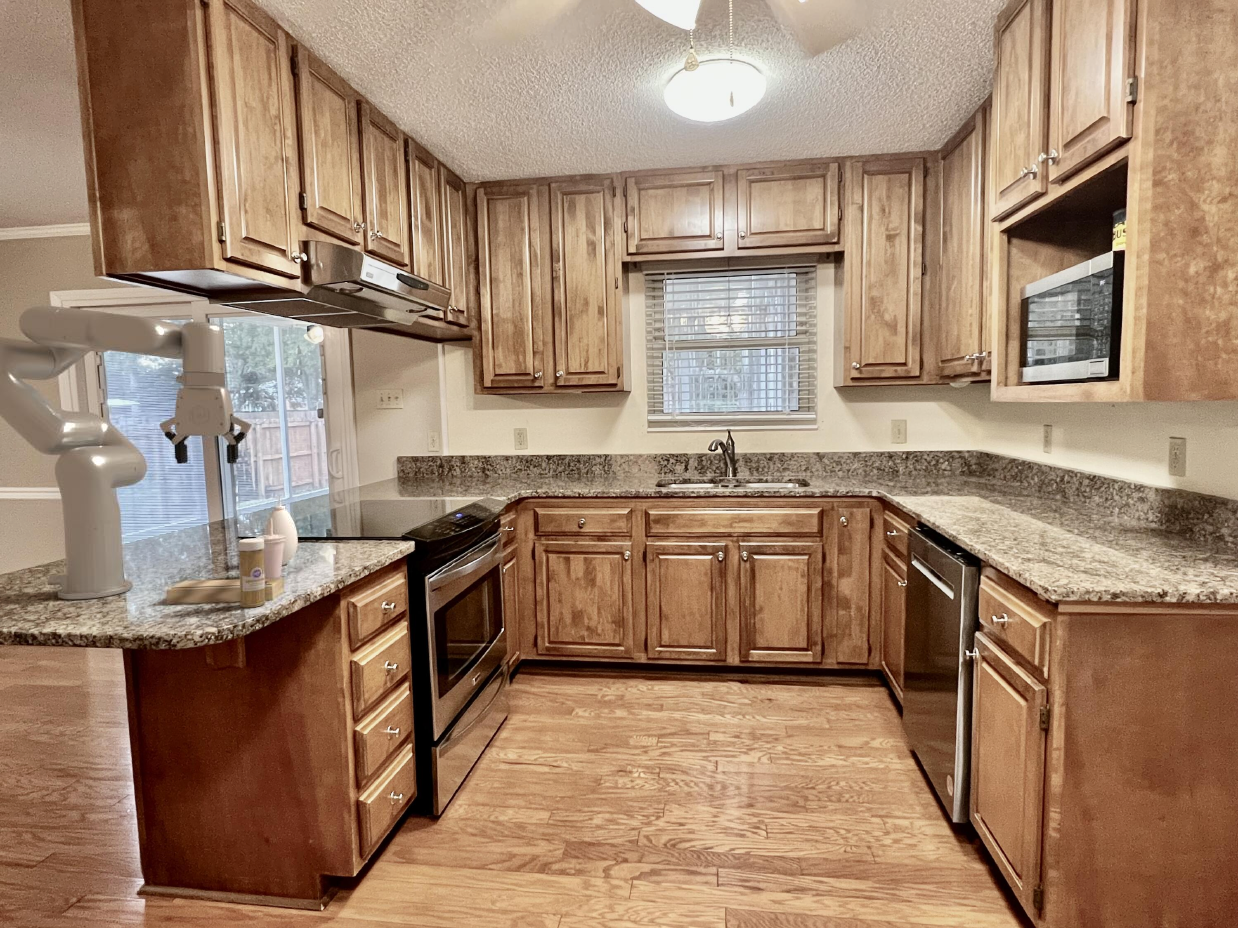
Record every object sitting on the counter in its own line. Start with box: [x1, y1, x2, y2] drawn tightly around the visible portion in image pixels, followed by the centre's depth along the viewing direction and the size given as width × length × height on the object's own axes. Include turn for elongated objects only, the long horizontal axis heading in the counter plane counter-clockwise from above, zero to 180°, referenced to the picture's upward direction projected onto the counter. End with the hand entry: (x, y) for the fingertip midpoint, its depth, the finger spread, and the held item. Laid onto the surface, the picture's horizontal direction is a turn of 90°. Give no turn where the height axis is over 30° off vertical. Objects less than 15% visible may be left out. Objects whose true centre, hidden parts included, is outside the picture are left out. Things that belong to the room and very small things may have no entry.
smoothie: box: [255, 518, 286, 579], centre depth 155 cm, size 6×6×14 cm
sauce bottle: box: [263, 496, 299, 566], centre depth 167 cm, size 8×8×18 cm
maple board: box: [166, 577, 285, 605], centre depth 137 cm, size 20×7×3 cm, turn 100°
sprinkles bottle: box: [237, 537, 266, 609], centre depth 131 cm, size 5×5×13 cm
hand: (207, 463), depth 138 cm, fingers open, 9 cm apart
